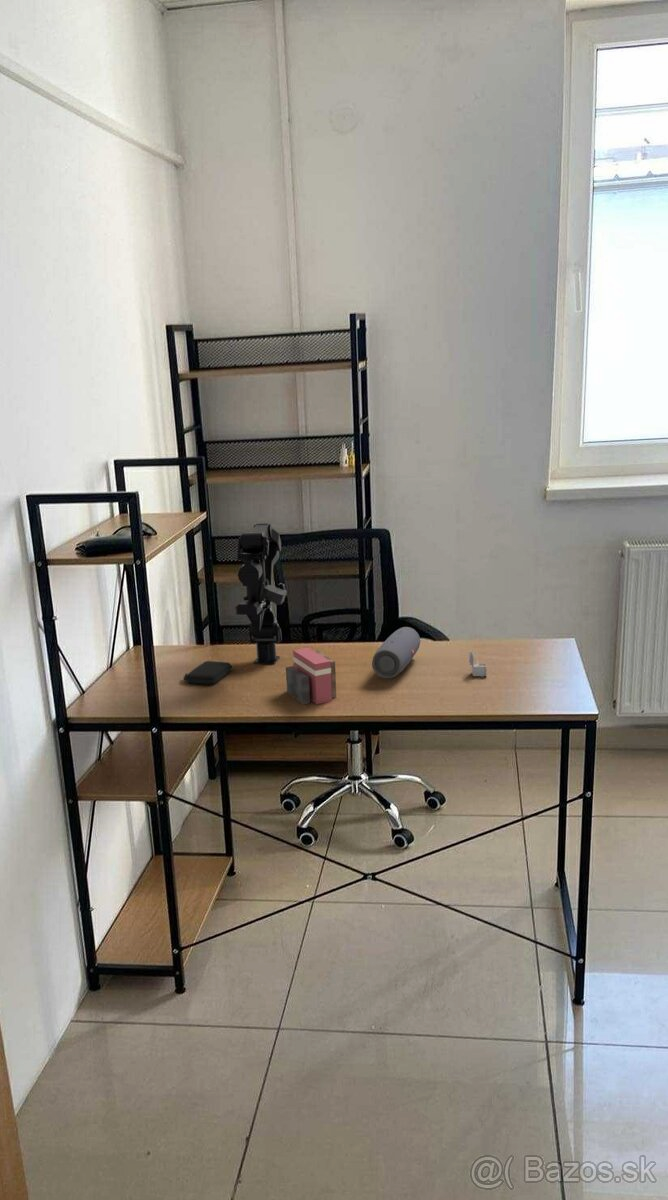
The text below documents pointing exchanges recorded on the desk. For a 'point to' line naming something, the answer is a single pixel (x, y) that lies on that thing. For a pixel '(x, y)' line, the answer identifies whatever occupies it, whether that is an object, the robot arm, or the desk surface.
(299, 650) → the book
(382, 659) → the bluetooth speaker
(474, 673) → the architectural model
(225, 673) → the carrying case or bag
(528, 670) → the desk surface
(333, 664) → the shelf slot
